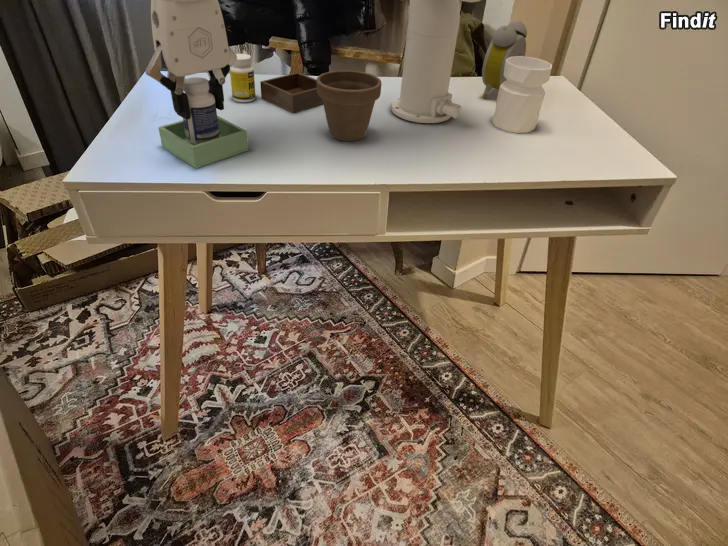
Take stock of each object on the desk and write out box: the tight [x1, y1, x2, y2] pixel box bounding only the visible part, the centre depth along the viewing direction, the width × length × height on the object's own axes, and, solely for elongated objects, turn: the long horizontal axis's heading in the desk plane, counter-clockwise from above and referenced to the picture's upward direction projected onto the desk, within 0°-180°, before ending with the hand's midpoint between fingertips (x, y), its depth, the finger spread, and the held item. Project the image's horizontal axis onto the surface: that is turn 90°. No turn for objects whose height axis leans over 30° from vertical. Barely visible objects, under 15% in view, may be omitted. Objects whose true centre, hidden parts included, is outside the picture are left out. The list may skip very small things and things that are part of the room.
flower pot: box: [316, 69, 382, 142], centre depth 90 cm, size 12×11×10 cm
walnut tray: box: [259, 71, 323, 114], centre depth 104 cm, size 10×10×4 cm
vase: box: [491, 56, 553, 134], centre depth 98 cm, size 9×9×12 cm
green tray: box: [158, 115, 249, 169], centre depth 84 cm, size 10×10×4 cm
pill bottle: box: [182, 76, 220, 145], centre depth 81 cm, size 5×5×10 cm
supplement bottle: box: [229, 53, 256, 103], centre depth 101 cm, size 5×5×8 cm
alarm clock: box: [481, 20, 528, 99], centre depth 110 cm, size 12×7×15 cm, turn 144°
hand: (200, 110), depth 81 cm, fingers closed on pill bottle, 5 cm apart
